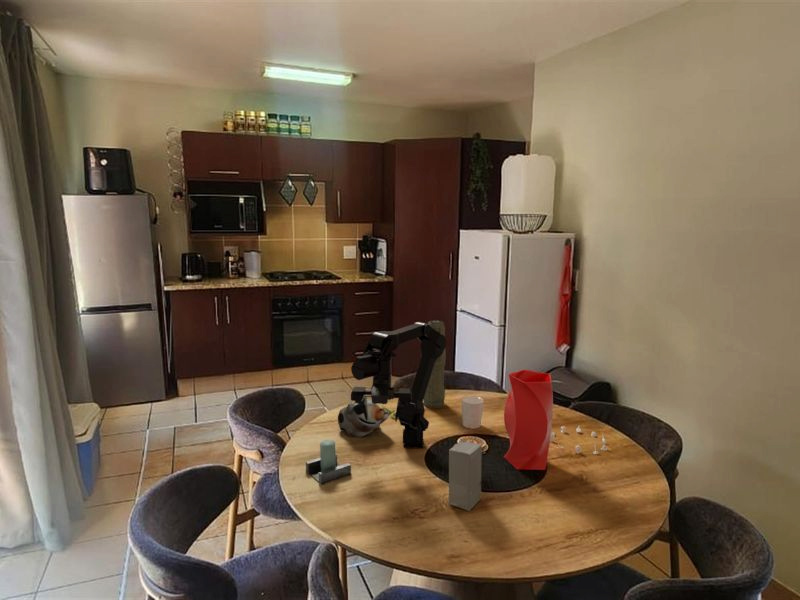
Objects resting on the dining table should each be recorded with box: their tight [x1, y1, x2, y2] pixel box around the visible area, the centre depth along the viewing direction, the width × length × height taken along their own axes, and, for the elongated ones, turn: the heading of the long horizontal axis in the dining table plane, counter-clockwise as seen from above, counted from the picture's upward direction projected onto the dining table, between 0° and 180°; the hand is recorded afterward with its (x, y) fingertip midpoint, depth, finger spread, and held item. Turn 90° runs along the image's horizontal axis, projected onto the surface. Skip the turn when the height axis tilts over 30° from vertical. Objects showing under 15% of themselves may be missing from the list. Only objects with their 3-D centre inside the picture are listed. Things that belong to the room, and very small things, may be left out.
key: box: [380, 404, 396, 420], centre depth 200 cm, size 7×12×2 cm, turn 63°
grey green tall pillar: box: [423, 319, 447, 409], centre depth 209 cm, size 9×12×35 cm
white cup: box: [461, 395, 484, 430], centre depth 190 cm, size 8×8×10 cm
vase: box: [503, 369, 554, 471], centre depth 161 cm, size 15×14×28 cm
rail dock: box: [305, 453, 352, 485], centre depth 154 cm, size 10×10×3 cm
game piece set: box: [550, 425, 609, 455], centre depth 178 cm, size 19×20×4 cm
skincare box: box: [448, 439, 483, 512], centre depth 139 cm, size 8×7×16 cm
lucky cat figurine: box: [337, 399, 391, 438], centre depth 183 cm, size 17×14×16 cm
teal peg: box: [319, 439, 337, 472], centre depth 154 cm, size 4×4×9 cm
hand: (381, 420), depth 161 cm, fingers open, 9 cm apart
